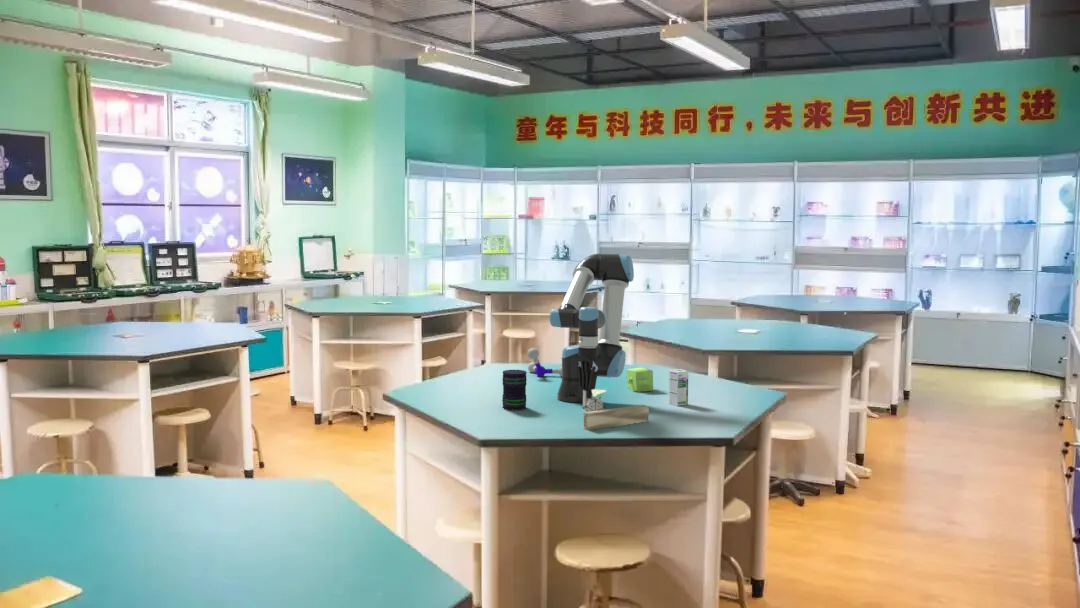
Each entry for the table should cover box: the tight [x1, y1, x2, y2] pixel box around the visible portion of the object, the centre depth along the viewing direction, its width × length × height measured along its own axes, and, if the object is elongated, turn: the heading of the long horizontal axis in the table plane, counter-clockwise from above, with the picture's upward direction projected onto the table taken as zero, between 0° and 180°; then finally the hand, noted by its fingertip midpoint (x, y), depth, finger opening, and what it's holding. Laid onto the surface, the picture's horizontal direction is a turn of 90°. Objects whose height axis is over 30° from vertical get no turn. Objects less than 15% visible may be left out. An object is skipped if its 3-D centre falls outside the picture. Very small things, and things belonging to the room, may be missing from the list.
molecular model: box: [527, 347, 562, 378], centre depth 432 cm, size 21×21×15 cm
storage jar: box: [501, 369, 527, 411], centre depth 353 cm, size 10×10×15 cm
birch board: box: [583, 404, 650, 431], centre depth 325 cm, size 3×28×6 cm, turn 122°
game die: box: [582, 396, 607, 412], centre depth 338 cm, size 9×8×10 cm
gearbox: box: [625, 367, 654, 392], centre depth 398 cm, size 18×10×10 cm, turn 18°
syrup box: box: [668, 368, 689, 407], centre depth 365 cm, size 6×6×14 cm
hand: (586, 406), depth 341 cm, fingers closed
